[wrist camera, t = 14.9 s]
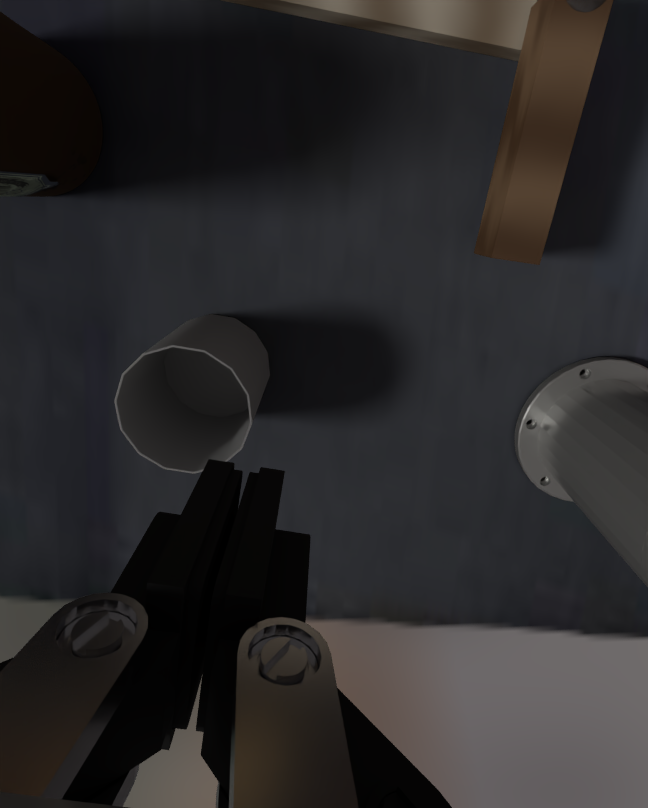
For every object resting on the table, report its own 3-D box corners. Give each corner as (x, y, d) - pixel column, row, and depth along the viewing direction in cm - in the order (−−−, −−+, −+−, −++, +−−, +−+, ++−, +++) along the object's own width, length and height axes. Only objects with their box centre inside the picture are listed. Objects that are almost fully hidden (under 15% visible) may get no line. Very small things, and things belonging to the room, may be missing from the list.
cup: (273, 413, 42) (257, 470, 32) (174, 418, 42) (130, 476, 32) (263, 311, 39) (242, 341, 29) (157, 316, 39) (102, 348, 29)
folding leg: (537, -20, 29) (568, -55, 25) (587, -12, 29) (625, -45, 25) (473, 253, 34) (491, 257, 31) (516, 259, 35) (539, 264, 31)
